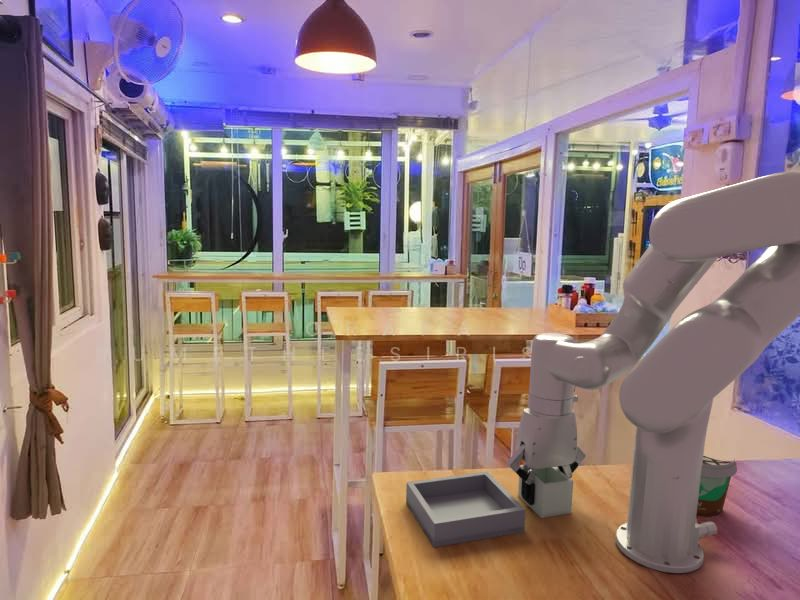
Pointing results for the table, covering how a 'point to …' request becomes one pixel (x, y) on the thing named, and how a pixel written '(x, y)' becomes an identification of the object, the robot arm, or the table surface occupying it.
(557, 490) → the small crate
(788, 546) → the table surface
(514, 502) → the big crate
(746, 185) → the robot arm
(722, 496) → the food container
